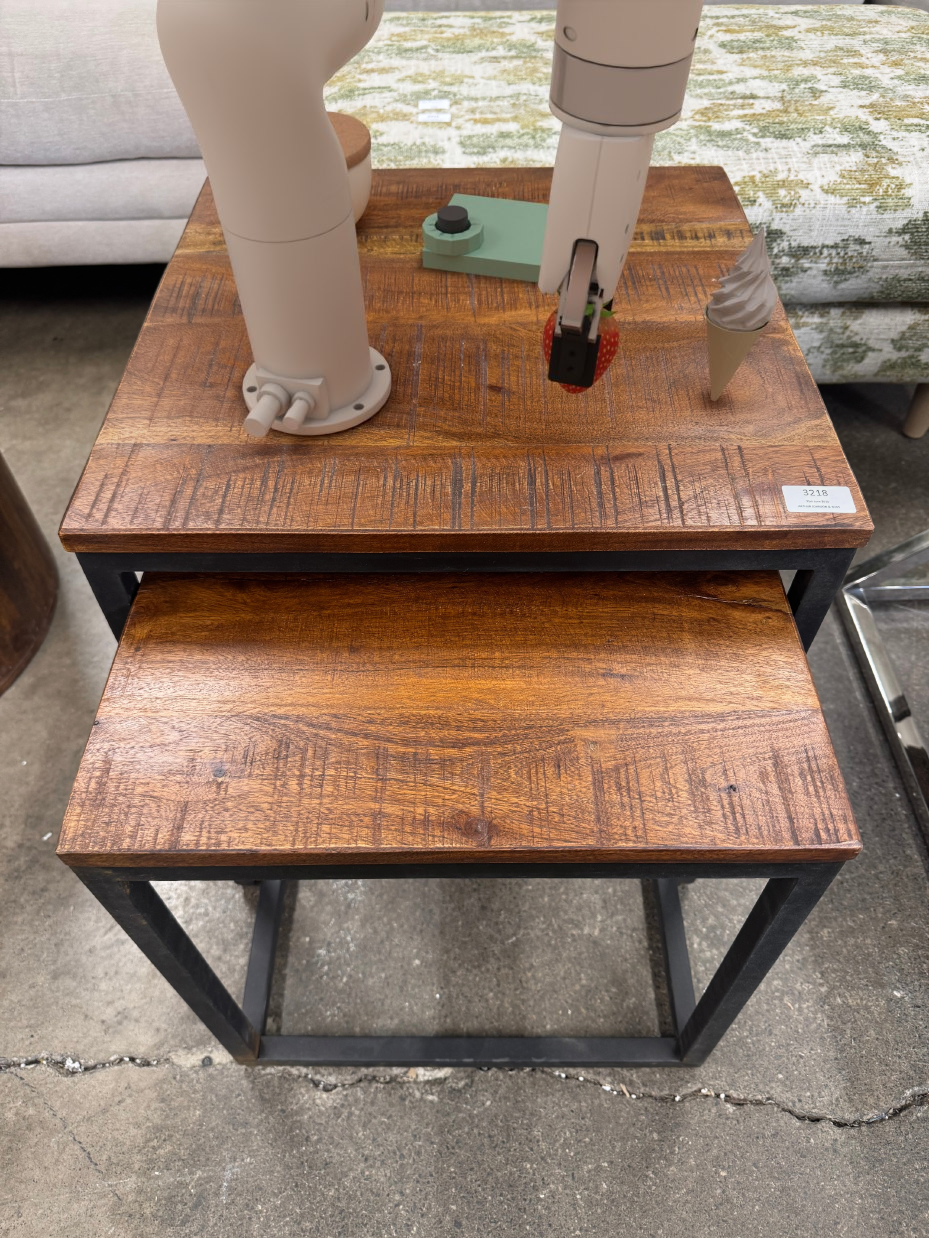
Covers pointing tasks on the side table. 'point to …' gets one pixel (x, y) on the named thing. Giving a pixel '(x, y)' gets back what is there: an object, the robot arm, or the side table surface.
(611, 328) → the fruit
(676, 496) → the side table surface
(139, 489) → the side table surface
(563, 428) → the side table surface
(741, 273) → the ice cream cone
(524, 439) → the side table surface
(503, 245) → the scale
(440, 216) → the button
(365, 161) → the lidded bowl
